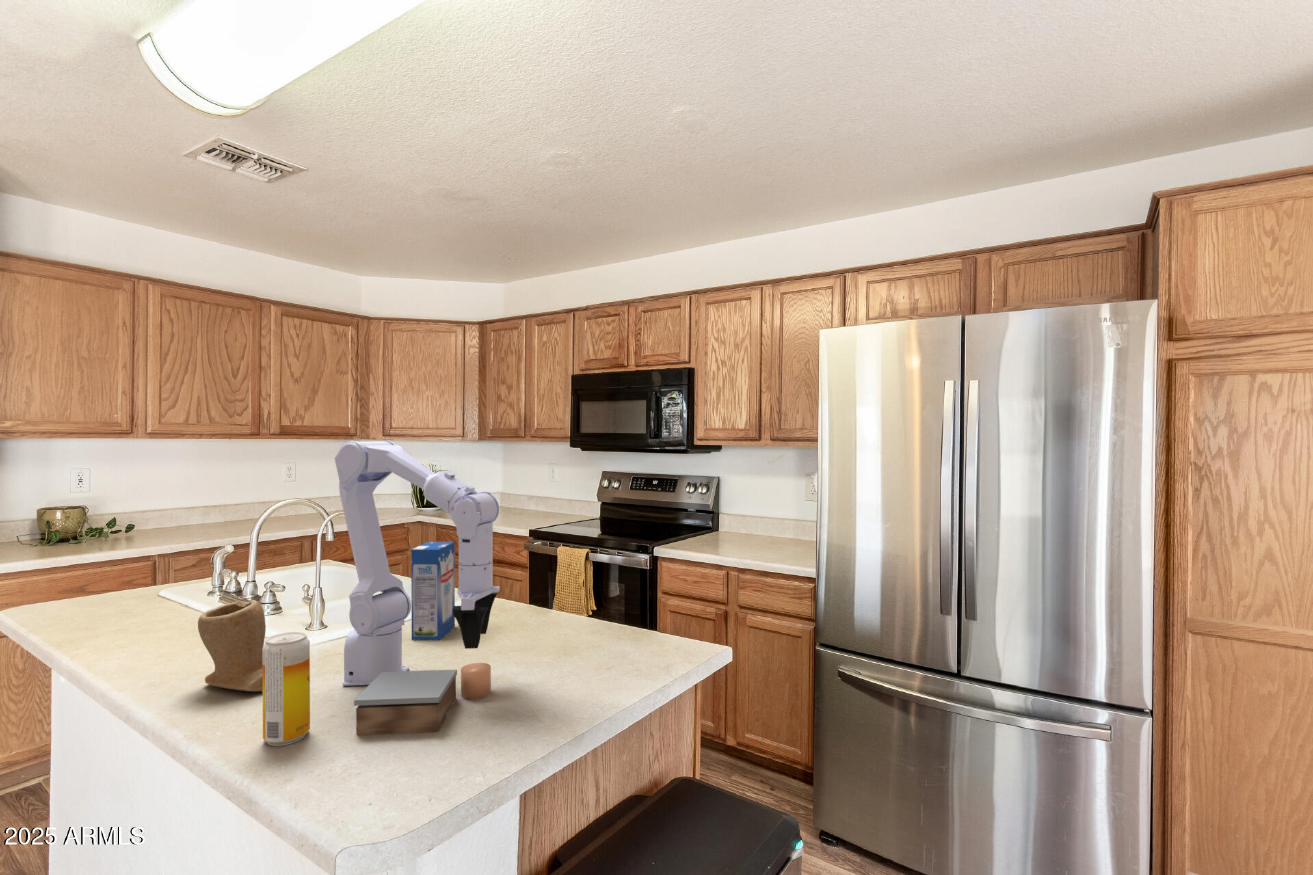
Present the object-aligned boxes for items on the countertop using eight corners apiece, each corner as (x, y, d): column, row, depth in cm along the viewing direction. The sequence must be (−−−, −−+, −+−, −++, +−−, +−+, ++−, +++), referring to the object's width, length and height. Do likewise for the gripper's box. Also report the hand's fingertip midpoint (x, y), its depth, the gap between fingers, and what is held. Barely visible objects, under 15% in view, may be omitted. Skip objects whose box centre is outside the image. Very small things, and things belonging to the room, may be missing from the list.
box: (356, 734, 96) (356, 708, 96) (383, 701, 108) (383, 677, 108) (438, 731, 97) (438, 705, 97) (455, 698, 109) (455, 675, 109)
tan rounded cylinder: (458, 700, 108) (457, 673, 108) (464, 688, 113) (464, 663, 113) (487, 699, 109) (487, 672, 109) (493, 687, 114) (493, 662, 114)
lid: (353, 705, 95) (353, 700, 95) (382, 676, 108) (382, 671, 108) (438, 702, 96) (438, 697, 96) (457, 674, 109) (457, 669, 109)
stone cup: (183, 691, 112) (182, 606, 112) (249, 668, 123) (249, 591, 123) (239, 706, 106) (238, 616, 106) (304, 681, 117) (303, 599, 117)
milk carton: (439, 640, 139) (439, 549, 139) (411, 640, 140) (411, 549, 139) (454, 626, 149) (454, 541, 149) (428, 626, 150) (428, 541, 149)
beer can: (317, 727, 98) (317, 630, 98) (296, 747, 92) (296, 643, 92) (277, 728, 98) (277, 631, 98) (253, 748, 92) (253, 644, 92)
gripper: (492, 571, 104) (492, 653, 104) (505, 554, 118) (505, 627, 119) (447, 571, 103) (448, 655, 103) (466, 555, 118) (466, 628, 118)
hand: (476, 640), depth 111 cm, fingers open, 7 cm apart
